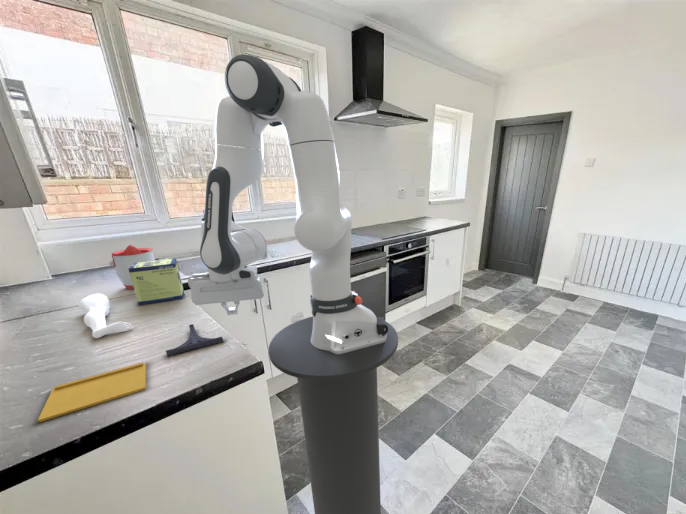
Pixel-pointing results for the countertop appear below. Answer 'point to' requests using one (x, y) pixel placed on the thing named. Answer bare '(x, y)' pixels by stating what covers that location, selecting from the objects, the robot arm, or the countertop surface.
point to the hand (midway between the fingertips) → (233, 313)
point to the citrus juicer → (129, 262)
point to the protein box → (156, 281)
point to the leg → (100, 316)
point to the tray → (94, 390)
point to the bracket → (194, 343)
